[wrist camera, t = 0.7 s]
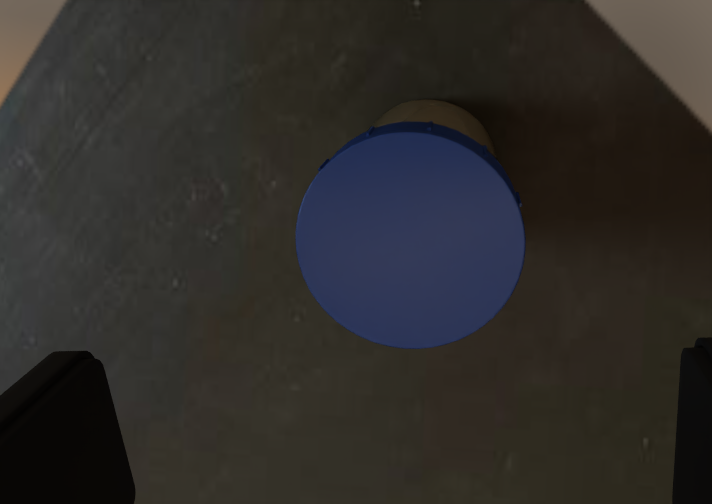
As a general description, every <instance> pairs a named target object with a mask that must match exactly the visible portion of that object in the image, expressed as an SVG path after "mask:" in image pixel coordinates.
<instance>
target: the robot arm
mask: <svg viewBox="0 0 712 504" xmlns="http://www.w3.org/2000/svg"><path fill="white" fill-rule="evenodd" d="M134 501H135V485H134V481H133V477H132V473H131V470H130V466H129V462H128V458H127V454H126V450H125V447H124V443H123V439H122V435H121V431H120V427H119V424H118V420H117V416H116V412H115V408H114V404H113V400H112V397H111V393H110V389H109V385H108V381H107V377H106V374H105V370H104V367H103V364H102V363H101V361H100V360H98V359H95V358H94V356H93V355H92V354H91V353H90V352H88V351H59V352H53V353H51V354H49V355H48V356H47V357H46V358H45V359H43V360H42V361H41V362H40V363H39V364H37V365H36V366H35V367H34V368H33V369H32V370H30V371H29V372H28V373H27V374H26V375H24V376H23V377H22V378H21V379H20V380H18V381H17V382H16V383H15V384H14V385H12V386H11V387H10V388H9V389H8V390H6V391H5V392H4V393H3V394H2V395H0V504H134ZM672 502H673V504H712V338H698V339H697V340H696V343H695V346H694V348H684V349H683V351H682V354H681V365H680V382H679V398H678V414H677V431H676V447H675V463H674V479H673V496H672Z"/></svg>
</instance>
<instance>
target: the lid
mask: <svg viewBox="0 0 712 504" xmlns="http://www.w3.org/2000/svg"><path fill="white" fill-rule="evenodd" d="M318 170H319V171H320V172H319V173H318V174H317V175H316V177H315V178H314V180H313V181H312V183H311V184H310V186H309V188H308V190H307V192H306V194H305V196H304V198H303V200H302V203H301V207H300V210H299V213H298V218H297V224H296V250H297V256H298V261H299V265H300V269H301V271H302V274H303V277H304V279H305V281H306V283H307V285H308V287H309V289H310V291H311V293H312V294H313V296H314V297H315V298H316V300H317V301H318V303H319V304H320V305H321V306H322V307H323V309H324V310H325V311H326V312H327V313H328V314H329V315H330V316H331V317H332V318H333V319H335V320H336V321H337V322H338V323H339V324H341V325H342V326H344V327H345V328H346V329H348V330H349V331H351V332H353V333H355V334H357V335H358V336H360V337H362V338H365V339H367V340H370V341H372V342H375V343H378V344H382V345H386V346H390V347H397V348H408V349H420V348H431V347H436V346H441V345H445V344H448V343H451V342H454V341H457V340H460V339H462V338H464V337H466V336H468V335H470V334H472V333H473V332H475V331H476V330H478V329H480V328H481V327H483V326H484V325H485V324H486V323H487V322H489V321H490V320H491V319H492V318H493V317H494V316H495V315H496V314H497V313H498V312H499V311H500V310H501V309H502V308H503V306H504V305H505V304H506V302H507V301H508V299H509V298H510V296H511V295H512V293H513V291H514V289H515V287H516V285H517V283H518V280H519V277H520V274H521V271H522V268H523V264H524V257H525V242H526V238H525V229H524V222H523V219H522V215H521V211H520V207H521V206H522V204H521V200H520V196H519V193H518V192H516V193H515V190H514V188H513V185H512V183H511V181H510V179H509V177H508V175H507V174H506V172H505V170H504V169H503V167H502V166H501V165H500V164H499V162H498V161H497V160H496V158H495V157H494V156H493V155H492V154H491V153H490V152H489V151H488V150H487V146H486V145H484V146H482V145H480V144H479V143H478V142H476V141H475V140H474V139H472V138H470V137H468V136H467V135H465V134H463V133H461V132H459V131H457V130H454V129H451V128H449V127H446V126H442V125H438V124H434V123H433V121H431V120H430V121H429V123H428V122H418V121H412V122H398V123H391V124H386V125H383V126H380V127H376V128H375V127H374V126H372V127H371V128H370V129H369V130H368V131H367V132H365V133H362V134H360V135H359V136H357V137H356V138H354V139H352V140H351V141H349V142H348V143H347V144H346V145H344V146H343V147H342V148H341V149H340V150H338V151H337V153H336V154H335V155H334V156H333V157H332V158H331V159H330V160H329V159H327V160H326V161H325V162H324V163H323V164H322V165H321V166H320V168H319V169H318Z"/></svg>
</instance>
